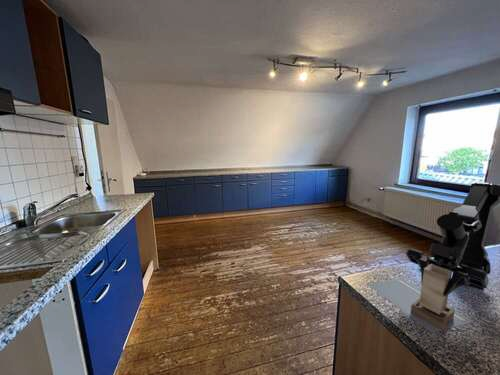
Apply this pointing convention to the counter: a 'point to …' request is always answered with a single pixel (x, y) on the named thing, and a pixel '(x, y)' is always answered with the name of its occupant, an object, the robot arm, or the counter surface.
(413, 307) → the walnut block
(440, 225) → the robot arm
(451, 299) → the counter surface
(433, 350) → the counter surface
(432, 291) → the beech column
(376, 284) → the board
